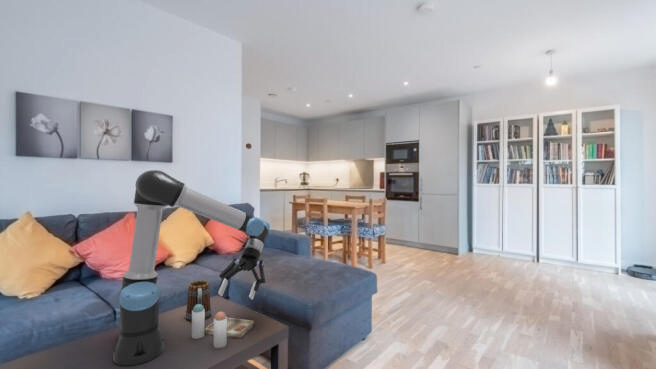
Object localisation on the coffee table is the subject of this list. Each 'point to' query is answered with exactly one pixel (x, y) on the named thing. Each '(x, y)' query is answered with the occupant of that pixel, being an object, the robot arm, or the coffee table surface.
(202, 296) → the mug
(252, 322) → the tray
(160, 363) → the coffee table surface
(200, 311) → the tube teal
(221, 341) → the tube terracotta
